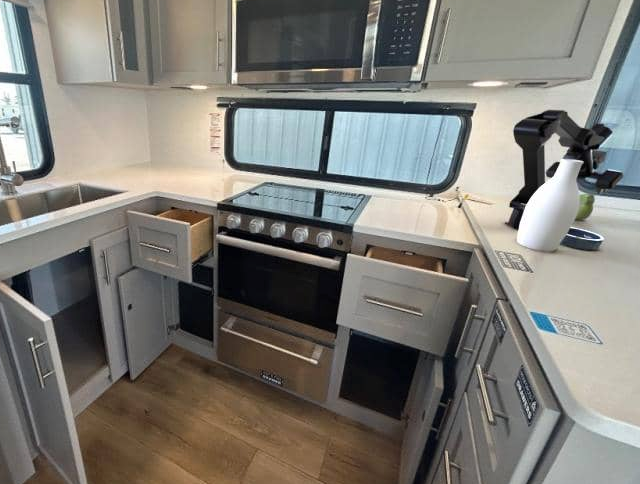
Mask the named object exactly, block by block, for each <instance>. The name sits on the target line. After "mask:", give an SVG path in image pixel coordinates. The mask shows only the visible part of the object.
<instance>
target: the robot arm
mask: <svg viewBox="0 0 640 484" xmlns="http://www.w3.org/2000/svg"><path fill="white" fill-rule="evenodd" d="M512 132H513V133H512V134H513V138H514V142H515V144H516V145H518V147H519V148H520V149H522V150H521V151H522V163H523V166H522V167H523V178H524V179H523V181H524V185H523V186H522V188H521V189H519V191H518V193H517V194H516V195H515V196H514V197H513V198H512V199H511V200H510V201H509V205H508V207H509V208H511V209H512V212H511V214H510V216H509V219H508V221H504V224H505V225H507V227H510V228H512V229H513V230H516V231H519V226H520V222H521V219H522V216H523V213H524V210H525V207H526V205H527V203H528V202H529V200H530V198H531V197H532V196H533V194H534V193H535V192H536V191H537V190H538V189H539V188H540V187H541V186H542V185H543V184H545V183H546V182H547V181H546V178H550V179H551V178H552V177H554V175H555V173H556V171H557V169H558V167H559V165H560V163H561V161H555V162H553V163H552V164H551V165H550V166H549V168H547V169H546V163H545V161H546V154H545V151H546V150H545V145H546V144H547V142H548V141H549V140H550V139H551V138H552V137H553V135H555V134H556V135H557V136H558V137H559V139H558V143H559V144H560V146H561V147H563V148H568V149H567V150H566V153H565V154H564V155H563V156H562V159H572V160H579V161H583V162H584V163H583V164H582V165H581V168H580V170H579V173H578V176H577V178H576V179H579V180H583V181H584V180H586V179H593V180H596V181H595V186H594V189H595V191H596V193H597V194H598V195H601V194H603V191H604V190H611V189H613V188H614V187H615V186H616V185H617V184H618V183H619V182H621V180H622V179H623V178H624V172H623V171H622V170H621V171H620V170H615V169H606V170H604V172H601V171H597V170H598V169H599V168H600V165H601V164H602V163H604V162H605V161H606V158H607V153H608V152H607V151H604V150H599V149H600V148H601V147H602V146H603V145H604V144H605V143H606V142H607V141H608V140H609V139H610V138H611V137H612V135H613V134H614V131H613V130H612V129H611V128H610V127H608V126H605V124H604V123H600V122H599V123H598V122H596V123H595V124H594V125H593V126H592V127H590V128H586V127H581V126H580V125H579V124H578V123H576V122H575V120H573V118H572V117H570V116H569V113H568V111H566V110H564V109H546V110H544V111H542V112H540V113H537V114H533V115H530V116H527V117H525V118H522V119H521V120H520V121H519V122H516V124H515V125H514V127H513V130H512ZM595 170H596V171H595Z"/></svg>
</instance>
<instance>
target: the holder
mask: <svg viewBox="0 0 640 484" xmlns="http://www.w3.org/2000/svg"><path fill="white" fill-rule="evenodd" d="M604 240H605V238H604V237H603V236H602V235H600V234H598V233H595V232H593V231H592V232H591V231H589V230H584V229H581V228H576V227H572V226H571V227H570V229H569V231H568V233H567V234H566V236H565V237H564V238H563V240H562V241H561V243H560V244H559V245H563V246H564V247H569V248H573V249H578V250H582V251H583V250H585V251H593V250H594V251H595V250H599V249H600V247H601V246H602V244H603V242H604Z"/></svg>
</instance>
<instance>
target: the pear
mask: <svg viewBox="0 0 640 484" xmlns="http://www.w3.org/2000/svg"><path fill="white" fill-rule="evenodd" d="M595 201H596V198H595V195H594V194H593V193H592V194H591V193H581V194H580V203H579V209H578V213H577V216H576V218H575V220H577V221H578V220H579V221H582V220H586V219H588V218H589V217H590V216H591V215H592V213H593V210H594V203H595Z"/></svg>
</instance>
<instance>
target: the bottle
mask: <svg viewBox="0 0 640 484" xmlns="http://www.w3.org/2000/svg"><path fill="white" fill-rule="evenodd" d="M560 162H561V163H560V165H559V167H558V169H557V171H556V173H555V175H554V177H552V178H550V179H548V180H547V181H545V182H546V183H545V184H543V185H542V186H541V187H540V188H539V189H538V190H537V191H536V192H535V193H534V194H533V196H532V197H531V198H530V200H529V202H528V203H527V205H526V204H525V205H526V207H525V210H524V213H523V216H522V219H521V222H520V226H519V230H517V236H516V241H517V243H518V244H519V245H521V246H522V247H526V248H527V249H531V250H534V251H539V252H548V253H550V252H554V251H555V250H557V249H558V247H559V246H560V245H561V244H560V243H561V241H562V240H563V238H564V237H565V236H566V234H567V233H568V231H569V229H570V227H572V225H573V223H574V222H575V220H576V219H575V218H576V216H577V213H578V209H579V203H580V190H579V189H580V188H579V186H578V182H577V179H578V178H577V176H578V173H579V170H580V168H581V165H582V164H583V163H584V162H583V161H579V160H572V159H563V158H561V159H560Z"/></svg>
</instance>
